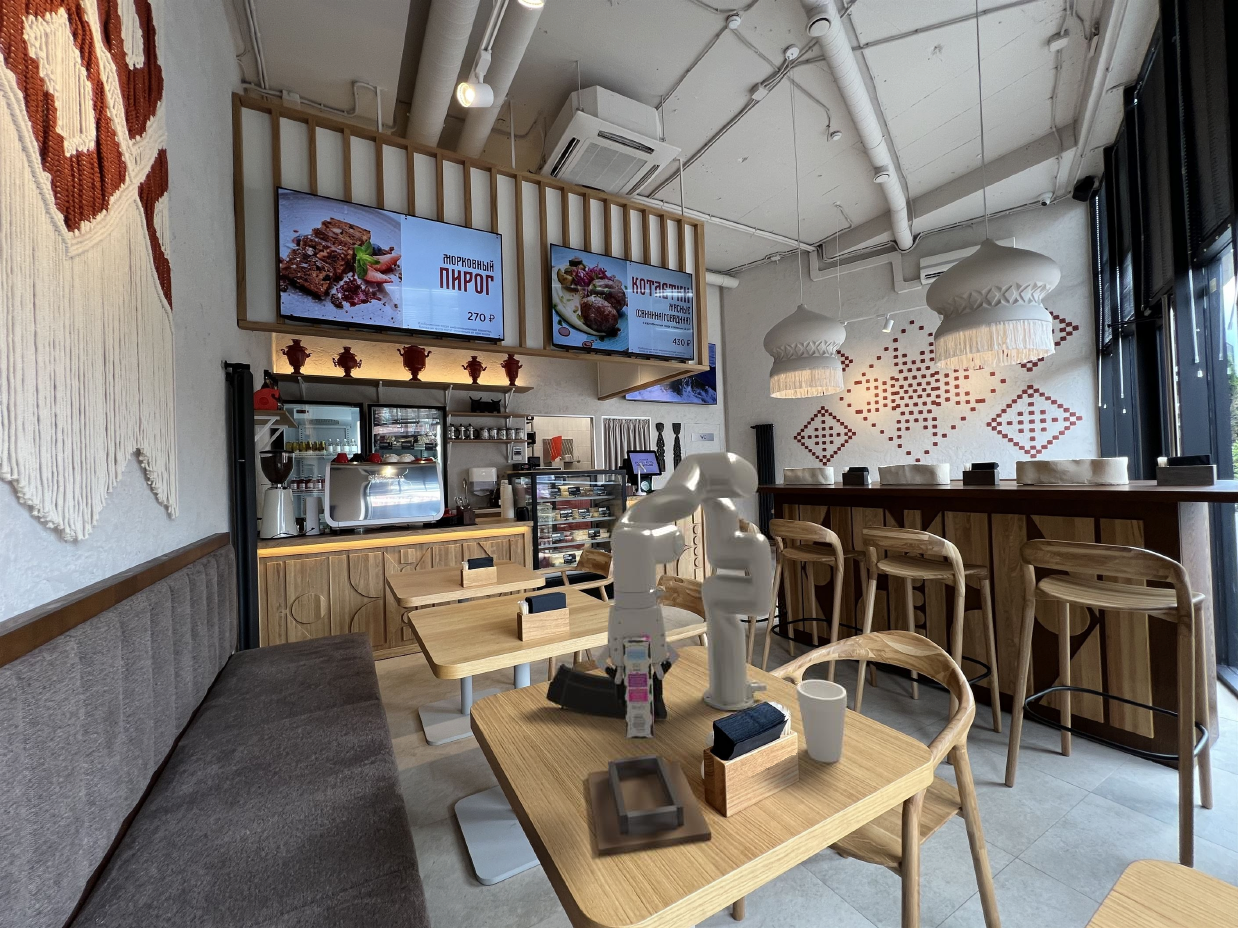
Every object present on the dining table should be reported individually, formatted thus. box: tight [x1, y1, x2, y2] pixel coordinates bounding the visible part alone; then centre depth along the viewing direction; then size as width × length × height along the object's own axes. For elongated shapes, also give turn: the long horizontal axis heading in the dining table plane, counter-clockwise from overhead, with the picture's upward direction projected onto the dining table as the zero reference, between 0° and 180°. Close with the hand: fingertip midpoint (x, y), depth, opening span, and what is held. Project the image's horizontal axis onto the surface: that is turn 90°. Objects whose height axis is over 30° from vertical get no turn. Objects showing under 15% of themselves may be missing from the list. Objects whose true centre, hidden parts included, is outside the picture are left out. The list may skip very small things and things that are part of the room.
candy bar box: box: [623, 636, 655, 740], centre depth 89 cm, size 11×5×16 cm, turn 178°
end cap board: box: [587, 753, 713, 857], centre depth 88 cm, size 18×20×4 cm
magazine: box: [545, 663, 668, 721], centre depth 122 cm, size 17×3×30 cm
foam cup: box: [796, 679, 848, 763], centre depth 102 cm, size 10×9×13 cm
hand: (639, 700), depth 88 cm, fingers closed on candy bar box, 5 cm apart
